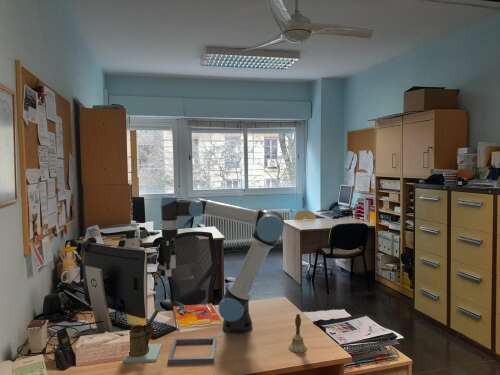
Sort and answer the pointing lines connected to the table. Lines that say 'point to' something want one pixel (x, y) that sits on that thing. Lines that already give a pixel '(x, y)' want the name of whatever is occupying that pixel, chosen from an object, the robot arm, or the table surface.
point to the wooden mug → (141, 338)
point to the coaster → (146, 355)
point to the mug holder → (192, 360)
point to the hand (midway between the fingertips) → (170, 272)
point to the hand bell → (297, 338)
